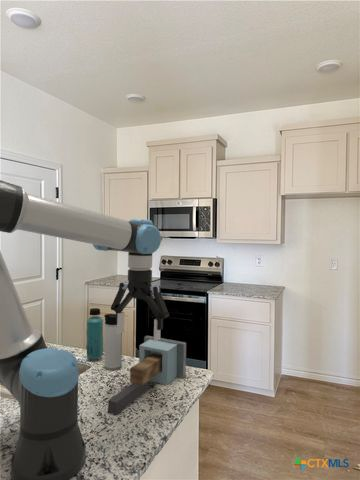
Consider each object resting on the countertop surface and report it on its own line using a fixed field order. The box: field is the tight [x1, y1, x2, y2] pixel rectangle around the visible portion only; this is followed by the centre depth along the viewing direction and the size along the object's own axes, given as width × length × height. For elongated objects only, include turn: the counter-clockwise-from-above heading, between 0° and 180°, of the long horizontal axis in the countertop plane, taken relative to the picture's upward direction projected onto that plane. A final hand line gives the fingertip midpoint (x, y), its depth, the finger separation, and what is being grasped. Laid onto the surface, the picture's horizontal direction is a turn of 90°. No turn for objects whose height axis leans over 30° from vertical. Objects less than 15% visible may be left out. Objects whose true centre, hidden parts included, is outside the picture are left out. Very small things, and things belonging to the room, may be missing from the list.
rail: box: [107, 381, 150, 416], centre depth 100 cm, size 17×3×4 cm, turn 154°
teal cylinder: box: [85, 307, 104, 359], centre depth 130 cm, size 6×7×20 cm
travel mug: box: [103, 313, 123, 371], centre depth 123 cm, size 6×7×20 cm
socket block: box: [138, 340, 178, 386], centre depth 115 cm, size 7×11×11 cm, turn 64°
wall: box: [143, 335, 187, 379], centre depth 119 cm, size 2×16×12 cm, turn 64°
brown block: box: [129, 353, 162, 385], centre depth 109 cm, size 14×4×4 cm, turn 153°
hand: (138, 336), depth 104 cm, fingers open, 13 cm apart
